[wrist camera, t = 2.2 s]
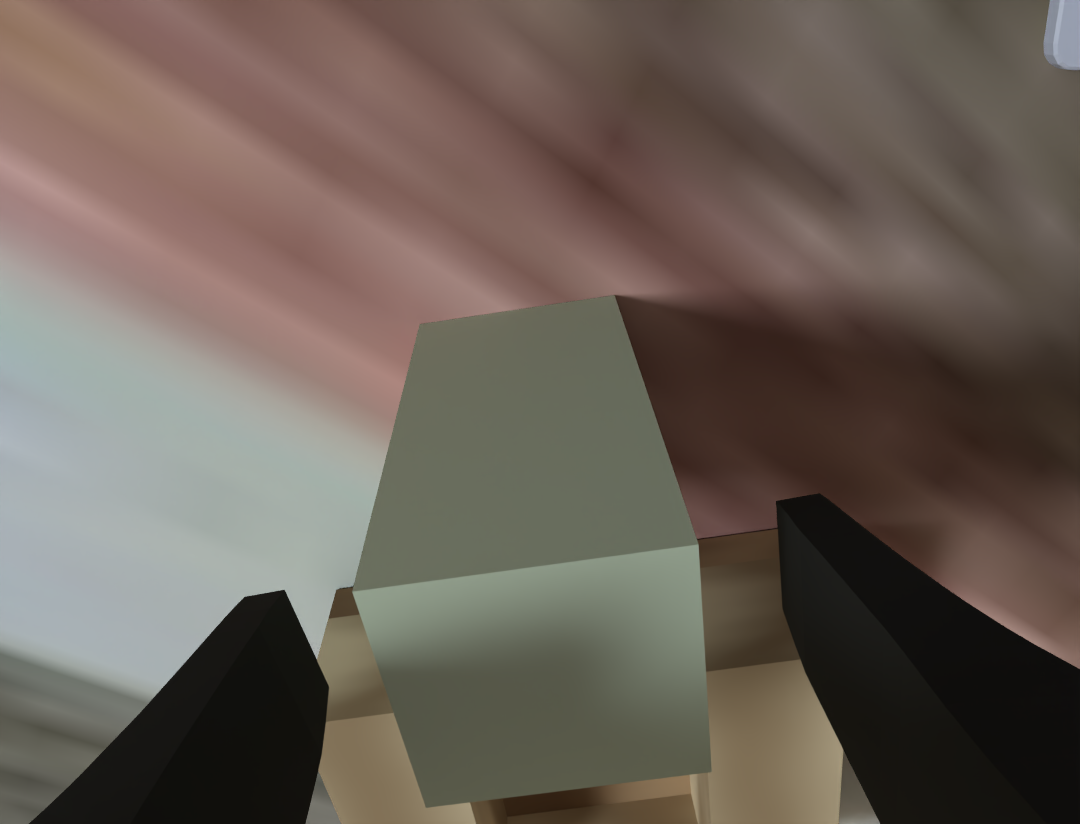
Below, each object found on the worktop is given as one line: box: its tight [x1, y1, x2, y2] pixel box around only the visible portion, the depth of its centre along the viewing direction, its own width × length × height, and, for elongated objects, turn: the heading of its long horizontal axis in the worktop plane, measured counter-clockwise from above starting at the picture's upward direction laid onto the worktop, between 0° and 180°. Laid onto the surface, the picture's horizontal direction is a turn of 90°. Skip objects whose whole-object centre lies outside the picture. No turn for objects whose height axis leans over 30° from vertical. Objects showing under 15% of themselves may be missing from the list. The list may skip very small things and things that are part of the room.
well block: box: [317, 529, 843, 824], centre depth 20 cm, size 11×11×4 cm
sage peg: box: [352, 295, 712, 808], centre depth 13 cm, size 4×4×8 cm
